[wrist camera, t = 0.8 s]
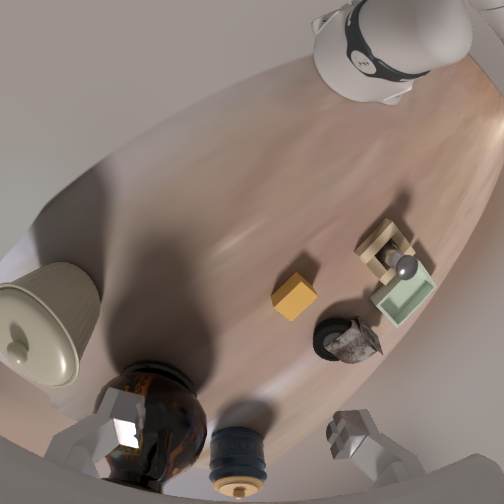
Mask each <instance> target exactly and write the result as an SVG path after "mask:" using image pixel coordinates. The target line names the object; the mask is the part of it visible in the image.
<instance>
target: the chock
mask: <svg viewBox="0 0 504 504" xmlns="http://www.w3.org/2000/svg"><path fill="white" fill-rule="evenodd" d="M317 297H318V295H317V293H316V292H315V290H314V288H313V286H312V285H311V284H310V283H309V282H307V281H306V280H305V279H304V278H303V277H302V276H301V275H300V274H299V273H297V272H295V273H294V274H293V275H292V276H291V277H290V278H289V279H288V280H287V281H286V282H285V283H284V284H283V285H282V286H281V287H280V288H279V289H278V290H277V291H276V292H275V293H274V294H273V295H272V296H271V300H272V303H273V307H274V309H276V310H277V311H278V312H279V313H281V314H282V315H283V316H285V317H286V318H287V319H288V320H290V321H292V320H293V319H294V318H296V317H297V316H298V315H299V314H300V313H301V312H302V311H303V310H304V309H305V308H306V307H308V306H309V305H310V304H311V303H312V302H313V301H314V300H315V299H316V298H317Z"/></svg>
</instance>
